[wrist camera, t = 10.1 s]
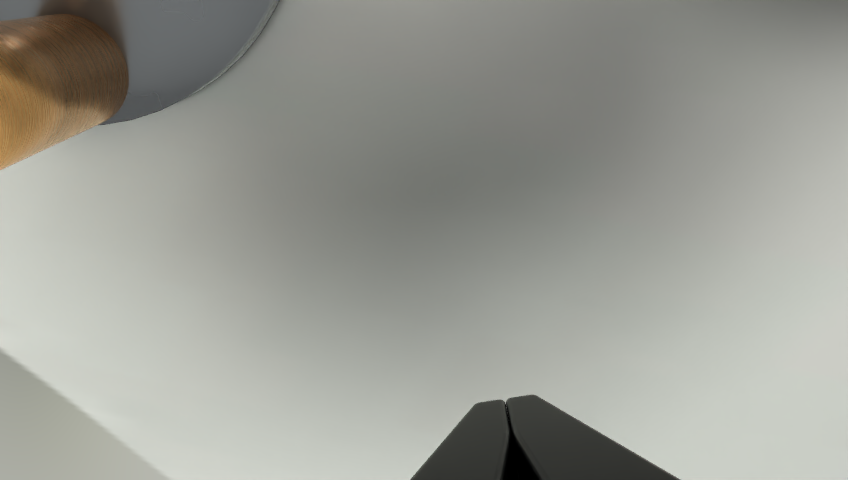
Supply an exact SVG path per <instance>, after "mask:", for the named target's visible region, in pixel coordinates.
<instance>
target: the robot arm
mask: <svg viewBox="0 0 848 480" xmlns="http://www.w3.org/2000/svg"><path fill="white" fill-rule="evenodd" d="M506 407H507V408H506ZM507 413H508V414H507ZM410 480H680V479H678V478H677V477H675V476H673V475H671V474H670V473H668V472H666V471H665V470H663V469H661V468H659V467H658V466H656V465H654V464H653V463H651V462H649V461H647V460H646V459H644V458H642V457H641V456H639V455H637V454H636V453H634V452H632V451H630V450H629V449H627V448H625V447H624V446H622V445H620V444H618V443H617V442H615V441H613V440H612V439H610V438H608V437H606V436H605V435H603V434H601V433H600V432H598V431H596V430H594V429H593V428H591V427H589V426H588V425H586V424H584V423H582V422H581V421H579V420H577V419H576V418H574V417H572V416H570V415H569V414H567V413H565V412H564V411H562V410H560V409H558V408H557V407H555V406H553V405H552V404H550V403H548V402H546V401H545V400H543V399H541V398H540V397H538V396H536V395H526V396H519V397H513V398H509V399H508V400H507V402H506V404H505V402H504V401H503V400H493V401H486V402H480V403H477V404H475V405H474V406H473V407H472V408H471V409H470V411H469V412H468V413H467V414H466V415H465V416H464V418H463V419H462V420H461V421H460V422H459V423H458V425H457V426H456V427H455V428H454V429H453V430H452V432H451V433H450V434H449V435H448V436H447V437H446V439H445V440H444V441H443V442H442V443H441V444H440V446H439V447H438V448H437V449H436V450H435V451H434V453H433V454H432V455H431V456H430V457H429V458H428V460H427V461H426V462H425V463H424V464H423V465H422V467H421V468H420V469H419V470H418V471H417V472H416V474H415V475H414V476H413V477H412V478H411V479H410Z"/></svg>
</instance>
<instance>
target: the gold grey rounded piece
mask: <svg viewBox="0 0 848 480" xmlns="http://www.w3.org/2000/svg"><path fill="white" fill-rule="evenodd" d="M278 1H279V0H0V170H2V169H4V168H6V167H8V166H10V165H13V164H15V163H17V162H19V161H21V160H23V159H25V158H28V157H30V156H32V155H34V154H36V153H38V152H40V151H43V150H45V149H47V148H49V147H51V146H53V145H55V144H58V143H60V142H62V141H64V140H66V139H68V138H70V137H73V136H75V135H77V134H79V133H81V132H83V131H85V130H88V129H90V128H92V127H94V126H96V125H105V124H110V123H116V122H122V121H128V120H133V119H136V118H139V117H142V116H145V115H148V114H151V113H154V112H157V111H160V110H162V109H164V108H166V107H168V106H170V105H172V104H174V103H176V102H178V101H180V100H182V99H184V98H186V97H188V96H190V95H192V94H194V93H196V92H198V91H200V90H201V89H202V88H204V87H205V86H207V85H208V84H210V83H211V82H213V81H214V80H215V79H217V78H218V77H220V76H221V75H222V74H224V73H225V72H226V71H227V70H228V69H229V68H230V67H231V66H232V65H233V64H234V63H235V62H236V61H237V60H239V59H240V58H241V57H242V56H243V55H244V53H245V52H246V51H247V50H248V48H249V47H250V46H251V45H252V43H253V42H254V41H255V40H256V38H257V37H258V36H259V35H260V33H261V32H262V30H263V28H264V27H265V25H266V23H267V22H268V20H269V18H270V17H271V15H272V13H273V11H274V10H275V8H276V6H277V4H278Z"/></svg>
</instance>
